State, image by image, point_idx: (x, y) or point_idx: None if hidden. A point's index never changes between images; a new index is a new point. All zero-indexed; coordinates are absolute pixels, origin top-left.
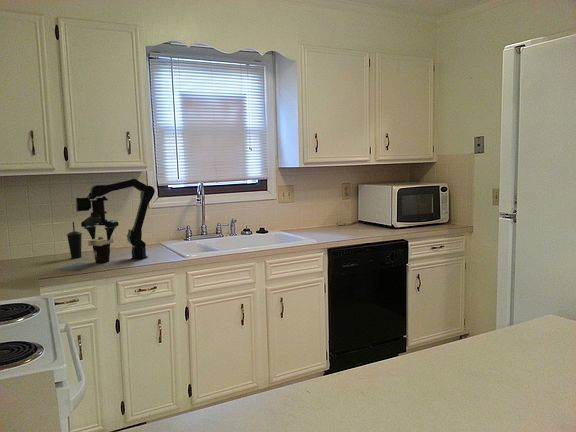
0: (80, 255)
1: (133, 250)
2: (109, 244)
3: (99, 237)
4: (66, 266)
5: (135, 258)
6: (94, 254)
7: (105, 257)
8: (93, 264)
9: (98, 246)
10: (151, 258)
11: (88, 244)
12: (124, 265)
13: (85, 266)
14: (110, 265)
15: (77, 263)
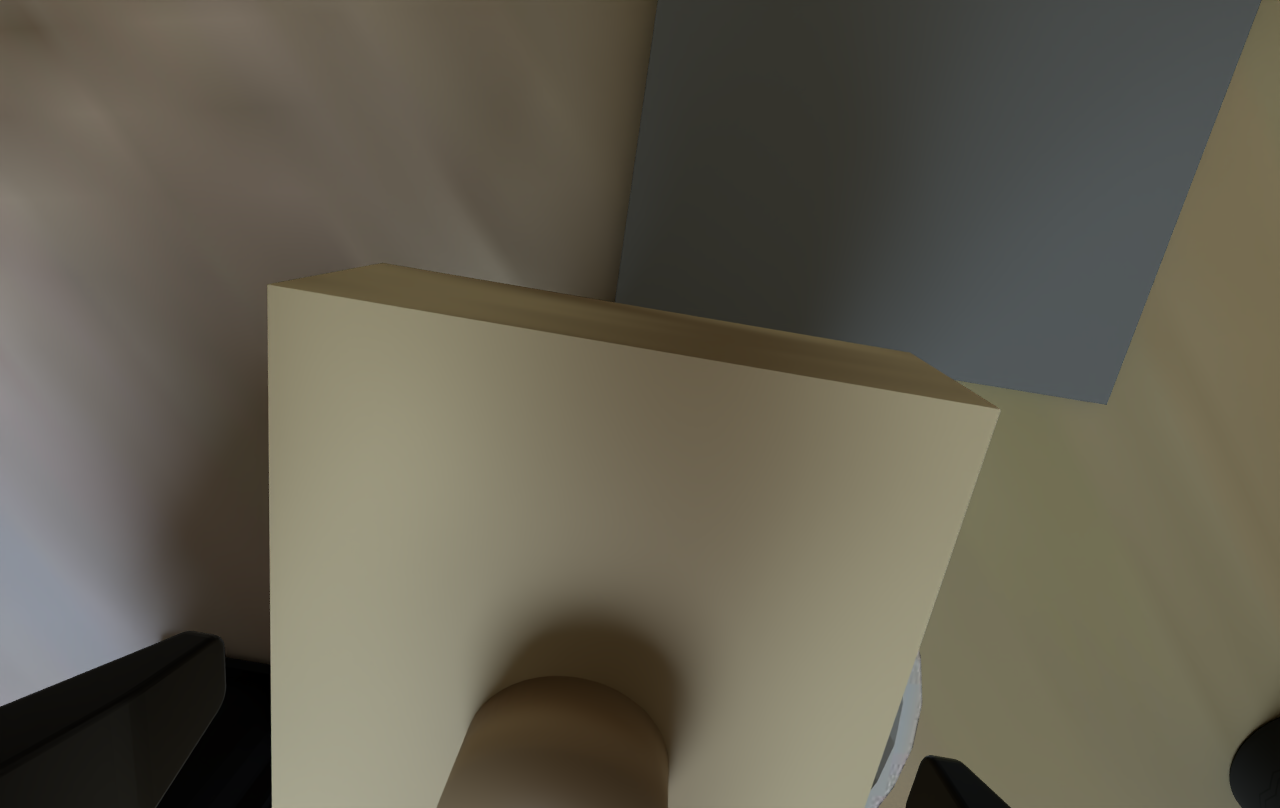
0: (1269, 806)
1: (202, 802)
2: None
3: (564, 785)
4: (1207, 70)
5: (243, 674)
6: None
7: None
8: (715, 269)
9: None
10: None
11: (924, 365)
12: (138, 266)
13: (781, 85)
14: (387, 262)
15: (1088, 350)
